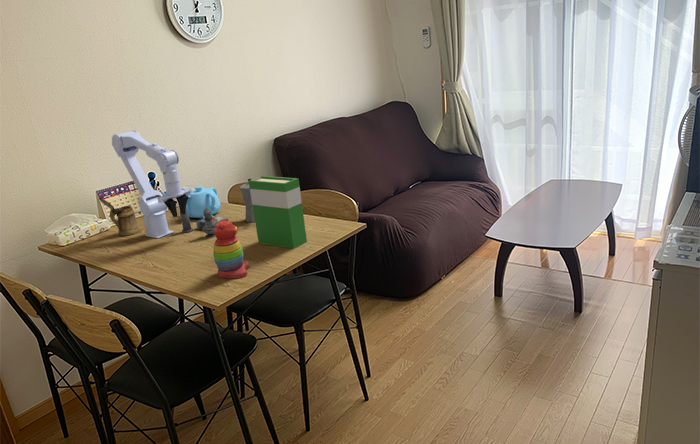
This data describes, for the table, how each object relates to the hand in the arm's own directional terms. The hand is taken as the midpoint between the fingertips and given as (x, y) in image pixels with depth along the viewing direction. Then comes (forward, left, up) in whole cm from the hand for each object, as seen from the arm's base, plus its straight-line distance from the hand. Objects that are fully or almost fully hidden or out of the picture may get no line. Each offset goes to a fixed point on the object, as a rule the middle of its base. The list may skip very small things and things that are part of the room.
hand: (179, 215), depth 206 cm
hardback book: (+43, +12, -10) cm, 45 cm away
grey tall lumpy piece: (+9, +7, -10) cm, 15 cm away
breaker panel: (0, +15, -10) cm, 18 cm away
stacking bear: (+47, -16, -10) cm, 50 cm away
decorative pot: (-19, +25, -10) cm, 34 cm away
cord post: (-7, +7, -10) cm, 14 cm away
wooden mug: (-32, -7, -10) cm, 35 cm away
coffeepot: (+12, +29, -10) cm, 33 cm away
